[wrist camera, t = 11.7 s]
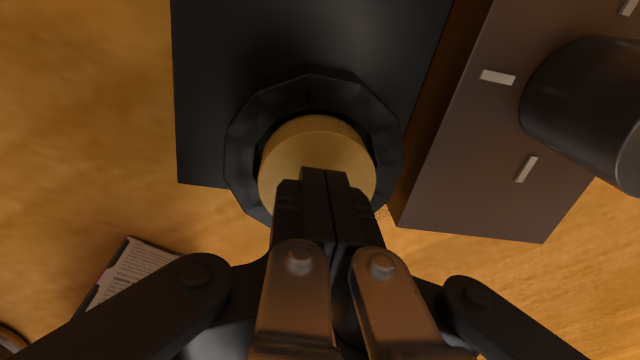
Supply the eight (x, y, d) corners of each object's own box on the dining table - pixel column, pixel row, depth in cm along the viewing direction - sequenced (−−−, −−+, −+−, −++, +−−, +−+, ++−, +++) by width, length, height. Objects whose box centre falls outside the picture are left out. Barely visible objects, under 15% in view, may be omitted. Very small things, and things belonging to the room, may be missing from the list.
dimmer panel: (514, 212, 20) (549, 247, 17) (381, 195, 18) (396, 229, 15) (657, -1, 14) (747, -1, 11) (475, -56, 12) (527, -72, 9)
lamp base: (364, 197, 18) (380, 244, 15) (190, 175, 16) (164, 221, 13) (507, -225, 10) (623, -344, 6) (183, -359, 8) (101, -622, 5)
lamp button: (351, 211, 14) (358, 237, 13) (256, 200, 13) (251, 225, 12) (380, 123, 12) (392, 142, 10) (268, 104, 11) (264, 121, 10)
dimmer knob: (498, 131, 13) (592, 192, 9) (565, 20, 11) (729, 34, 7) (578, 151, 14) (697, 215, 10) (654, 52, 12) (848, 81, 8)
